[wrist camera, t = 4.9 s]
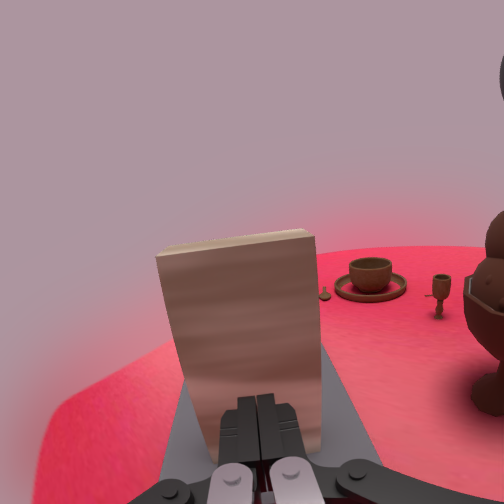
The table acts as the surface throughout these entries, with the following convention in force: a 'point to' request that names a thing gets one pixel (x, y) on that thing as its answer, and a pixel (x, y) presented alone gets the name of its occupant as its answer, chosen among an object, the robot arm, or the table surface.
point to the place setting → (383, 282)
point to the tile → (247, 325)
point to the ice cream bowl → (488, 316)
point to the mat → (331, 454)
